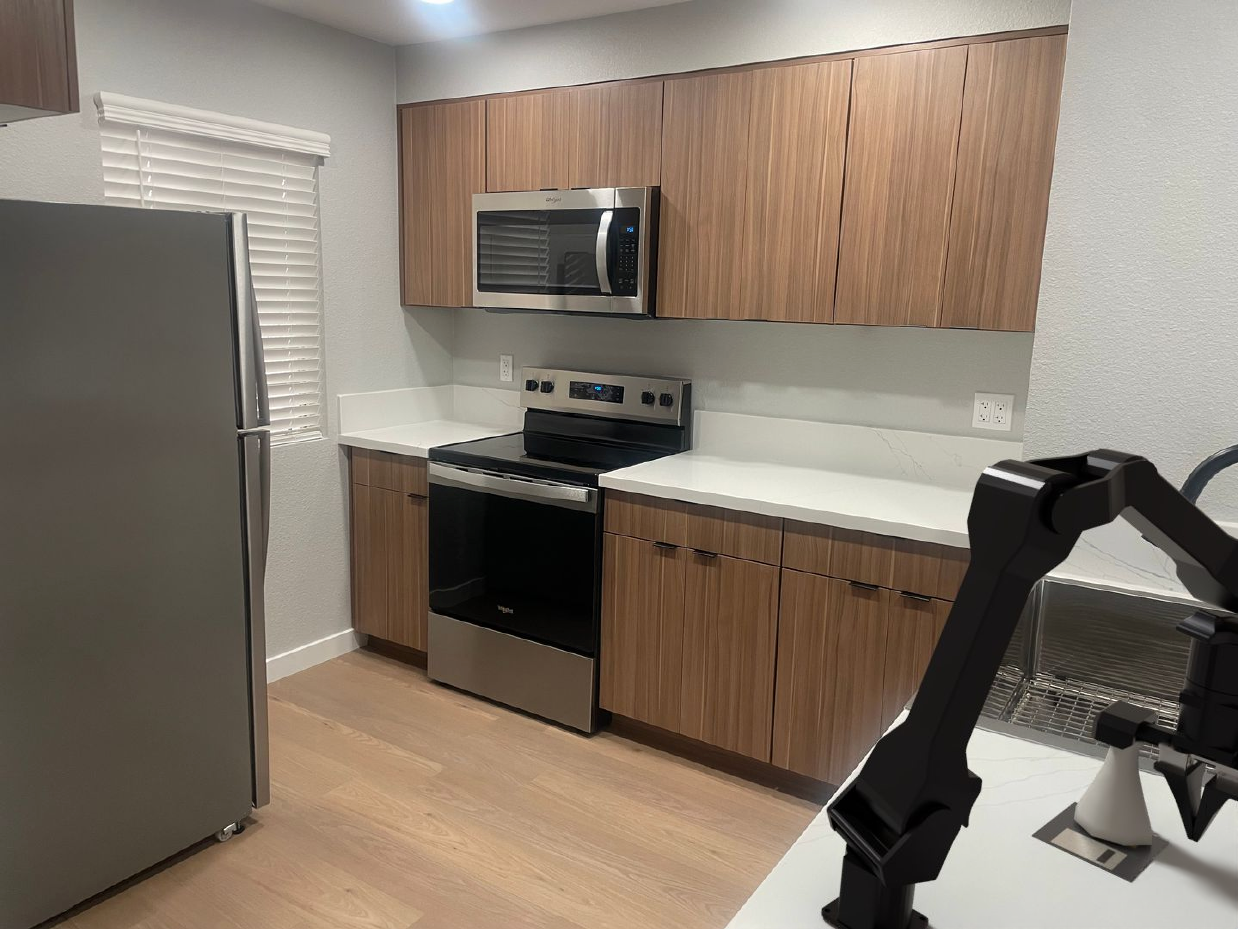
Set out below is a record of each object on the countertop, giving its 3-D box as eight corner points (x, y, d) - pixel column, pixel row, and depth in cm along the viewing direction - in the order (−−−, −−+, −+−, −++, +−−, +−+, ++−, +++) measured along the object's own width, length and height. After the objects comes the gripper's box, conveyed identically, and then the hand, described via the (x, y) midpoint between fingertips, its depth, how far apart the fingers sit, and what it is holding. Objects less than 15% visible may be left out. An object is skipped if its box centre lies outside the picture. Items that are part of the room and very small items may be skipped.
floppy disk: (1130, 881, 82) (1130, 879, 82) (1031, 835, 89) (1032, 834, 89) (1169, 842, 89) (1169, 840, 89) (1074, 802, 95) (1074, 800, 95)
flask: (1165, 854, 87) (1181, 757, 85) (1084, 842, 88) (1098, 746, 86) (1138, 813, 94) (1153, 723, 92) (1063, 803, 95) (1076, 713, 93)
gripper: (1370, 697, 81) (1337, 856, 84) (1143, 634, 95) (1121, 772, 97) (1341, 731, 74) (1306, 904, 76) (1100, 657, 87) (1078, 806, 90)
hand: (1194, 839), depth 85 cm, fingers closed
